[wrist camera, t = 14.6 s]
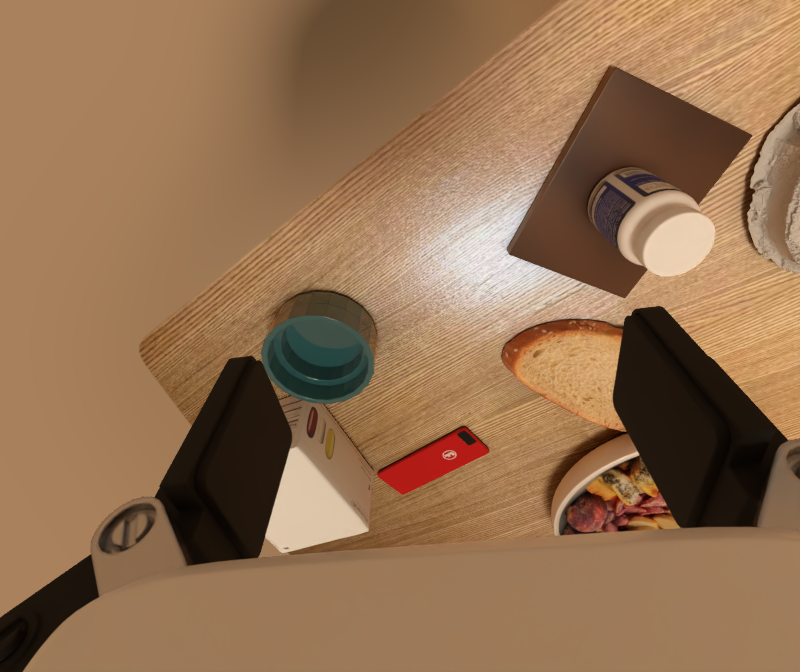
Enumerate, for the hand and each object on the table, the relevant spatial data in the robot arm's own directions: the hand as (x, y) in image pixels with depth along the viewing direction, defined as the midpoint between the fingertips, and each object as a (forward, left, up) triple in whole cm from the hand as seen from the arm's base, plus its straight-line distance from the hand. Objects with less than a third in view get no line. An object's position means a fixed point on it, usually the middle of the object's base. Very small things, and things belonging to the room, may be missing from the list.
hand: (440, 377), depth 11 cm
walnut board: (-2, +18, -30) cm, 35 cm away
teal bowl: (+22, -2, -30) cm, 37 cm away
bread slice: (+16, +28, -31) cm, 44 cm away
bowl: (+30, +48, -31) cm, 64 cm away
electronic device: (+37, +17, -30) cm, 51 cm away
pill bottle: (-2, +18, -29) cm, 34 cm away
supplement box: (+41, 0, -31) cm, 51 cm away
